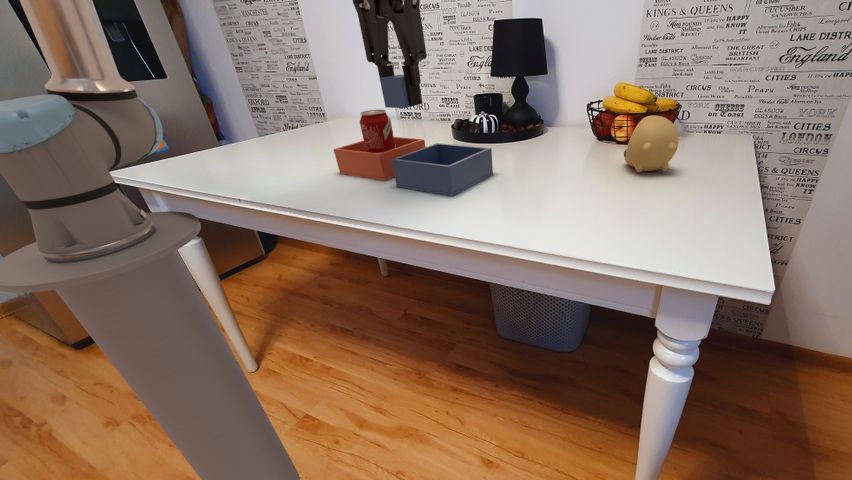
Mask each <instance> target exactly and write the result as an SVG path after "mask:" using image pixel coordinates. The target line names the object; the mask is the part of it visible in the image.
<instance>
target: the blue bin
mask: <svg viewBox="0 0 852 480" xmlns="http://www.w3.org/2000/svg"><path fill="white" fill-rule="evenodd" d="M492 151H493V150H492V147H484V146H472V145H462V144H450V143H440V142H436V143H433V144H431V145H429V146H425V148H422V149H419V150H417V151H414V152H411V153H408V154H406V155H403V156H400V157H397V158H395V159H392V160H391V161H392V166H393V171H394V176H395V177H394V181H395V185H396V187H397V188H401V189H407V190H412V191H413V190H414V191H420V192H424V193H430V194H431V193H432V194H437V195H441V196H449V197H454V196H456V195H457V194H460V193H461V192H463V191H465V190H467V189H469V188H471V187H473V186H474V185H476V184H478V183H480V182H482V181H484V180H486V179H488V178H489V177H491V176H493V175H494V172H493V171H494V167H493V153H492Z"/></svg>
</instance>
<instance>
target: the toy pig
mask: <svg viewBox="0 0 852 480" xmlns="http://www.w3.org/2000/svg"><path fill="white" fill-rule="evenodd" d="M678 132H679V131H678V129H677V127H676V126H675V125H674V123H673V122H672V121H671V120H670V119H668V118H666V117H664V116H660V115H648V116H645V117H643V118H641V120H640V121H639V122H638V124H637V125H636V127H635V128H634V130H633V132H632V133H631V136H630V138H629V141H628V142H627V146H626V149H625V150H624V152H623V157H624V161H625V163H626V164H627V165H629V166H631V167H634V168H635V171H636V172H637V173H641V172H654V171H657V170H661V171H662V172H665V171H667V170H668V169H669V163H670V162H671V160H672V159H673V158H674V156H675V155H676V152H677V150H678V148H679V141H680V139H679V133H678Z"/></svg>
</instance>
